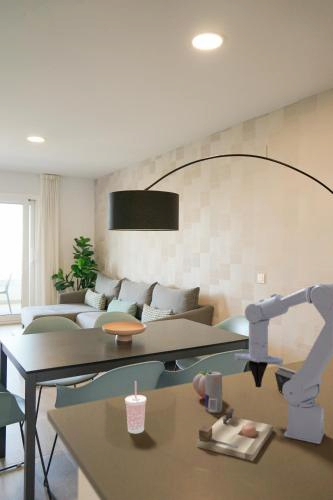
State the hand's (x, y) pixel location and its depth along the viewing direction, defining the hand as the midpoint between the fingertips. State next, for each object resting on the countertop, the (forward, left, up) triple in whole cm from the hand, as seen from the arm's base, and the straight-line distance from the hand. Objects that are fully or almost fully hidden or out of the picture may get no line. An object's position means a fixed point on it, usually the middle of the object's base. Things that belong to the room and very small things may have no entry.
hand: (258, 386), depth 126 cm
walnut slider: (+7, +25, -8) cm, 27 cm away
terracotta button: (-2, +15, -9) cm, 18 cm away
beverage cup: (+28, +26, -10) cm, 39 cm away
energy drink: (+14, +2, -10) cm, 17 cm away
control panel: (+1, +17, -9) cm, 19 cm away
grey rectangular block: (+6, +10, -7) cm, 14 cm away
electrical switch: (-4, -24, -10) cm, 26 cm away
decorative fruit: (+20, -6, -10) cm, 23 cm away
